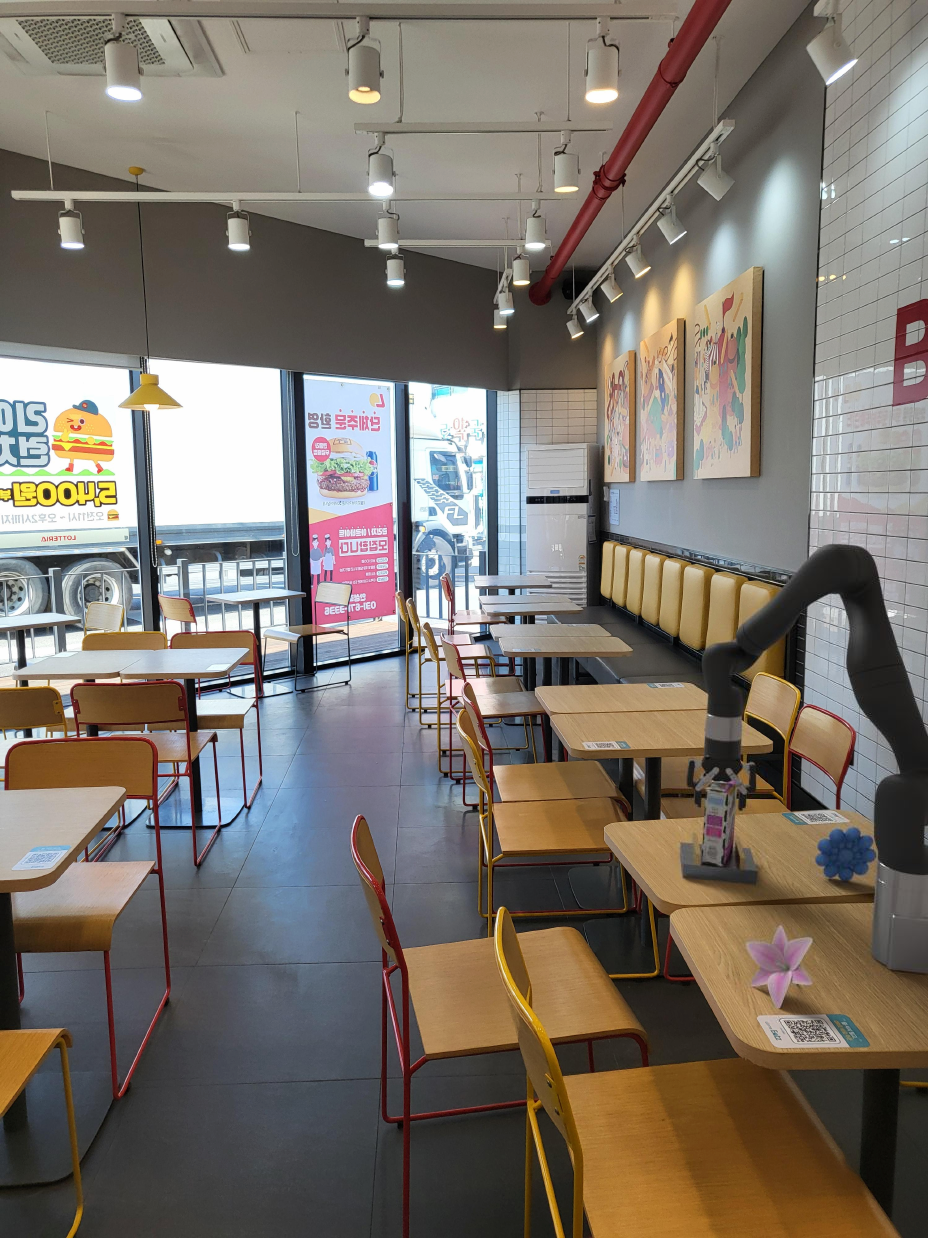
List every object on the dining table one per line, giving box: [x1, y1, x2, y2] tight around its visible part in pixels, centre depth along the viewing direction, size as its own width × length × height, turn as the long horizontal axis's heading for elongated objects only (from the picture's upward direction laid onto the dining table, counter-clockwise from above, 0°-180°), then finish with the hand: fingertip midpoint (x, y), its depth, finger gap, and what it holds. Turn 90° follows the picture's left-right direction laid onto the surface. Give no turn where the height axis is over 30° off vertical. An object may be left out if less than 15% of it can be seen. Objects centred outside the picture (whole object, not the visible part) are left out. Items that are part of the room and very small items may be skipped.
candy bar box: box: [701, 780, 738, 867], centre depth 178 cm, size 11×5×16 cm, turn 152°
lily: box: [745, 924, 813, 1009], centre depth 133 cm, size 12×12×10 cm
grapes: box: [814, 826, 878, 882], centre depth 174 cm, size 12×7×12 cm, turn 69°
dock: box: [679, 832, 758, 885], centre depth 179 cm, size 12×15×6 cm
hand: (719, 808), depth 178 cm, fingers open, 8 cm apart
